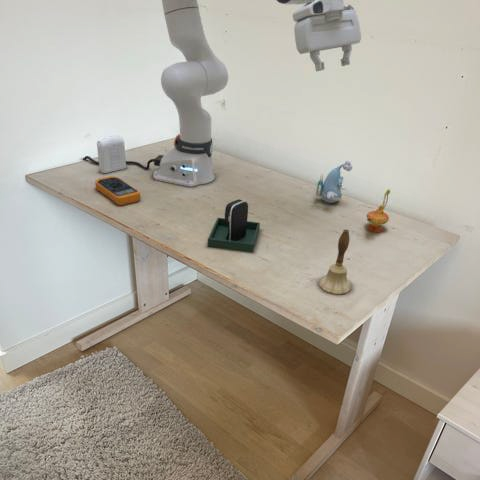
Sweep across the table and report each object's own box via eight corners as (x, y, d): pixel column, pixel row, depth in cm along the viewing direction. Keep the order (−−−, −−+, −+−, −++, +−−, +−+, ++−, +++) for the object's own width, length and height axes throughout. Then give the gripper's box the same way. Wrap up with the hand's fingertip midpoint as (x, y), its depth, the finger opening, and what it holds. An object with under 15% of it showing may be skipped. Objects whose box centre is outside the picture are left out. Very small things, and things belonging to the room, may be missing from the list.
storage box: (207, 246, 143) (207, 238, 141) (217, 225, 154) (217, 217, 153) (253, 252, 142) (253, 244, 140) (259, 230, 153) (260, 222, 151)
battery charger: (237, 231, 151) (239, 196, 144) (246, 236, 149) (249, 200, 142) (221, 239, 147) (223, 203, 140) (231, 243, 145) (233, 207, 138)
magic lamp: (353, 237, 152) (360, 204, 146) (372, 217, 165) (379, 185, 158) (374, 244, 150) (383, 210, 143) (392, 222, 162) (400, 190, 156)
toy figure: (344, 213, 166) (353, 170, 157) (313, 209, 167) (319, 166, 158) (346, 194, 179) (354, 153, 170) (317, 190, 180) (323, 149, 171)
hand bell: (316, 276, 133) (326, 222, 123) (346, 277, 134) (358, 223, 124) (322, 294, 126) (332, 238, 117) (353, 294, 127) (367, 239, 117)
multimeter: (116, 183, 175) (115, 174, 173) (142, 201, 165) (141, 191, 163) (93, 188, 171) (92, 179, 169) (119, 207, 160) (118, 197, 158)
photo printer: (121, 165, 189) (118, 132, 182) (128, 168, 187) (125, 135, 180) (98, 171, 183) (93, 137, 176) (104, 174, 181) (100, 140, 174)
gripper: (345, 7, 131) (351, 65, 136) (287, 14, 122) (296, 76, 127) (363, 0, 126) (369, 60, 131) (304, 7, 116) (313, 71, 122)
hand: (333, 68), depth 129 cm, fingers open, 8 cm apart
